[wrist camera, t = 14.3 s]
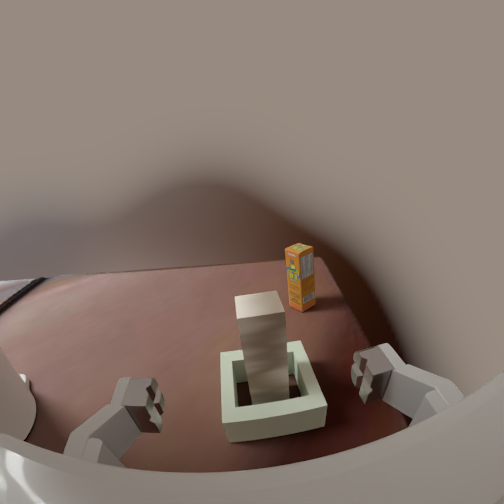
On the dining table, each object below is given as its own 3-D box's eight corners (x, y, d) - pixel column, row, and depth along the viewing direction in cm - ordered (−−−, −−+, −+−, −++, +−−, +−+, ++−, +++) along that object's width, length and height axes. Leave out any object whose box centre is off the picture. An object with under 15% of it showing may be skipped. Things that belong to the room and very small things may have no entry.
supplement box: (287, 306, 44) (282, 247, 40) (302, 298, 45) (299, 241, 42) (301, 314, 41) (298, 252, 38) (316, 305, 43) (315, 245, 39)
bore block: (229, 442, 21) (222, 423, 20) (225, 374, 30) (220, 352, 29) (324, 426, 21) (327, 405, 20) (300, 362, 31) (300, 340, 30)
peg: (254, 414, 24) (237, 318, 20) (250, 390, 27) (234, 296, 23) (289, 408, 24) (284, 311, 20) (283, 385, 28) (276, 290, 24)
